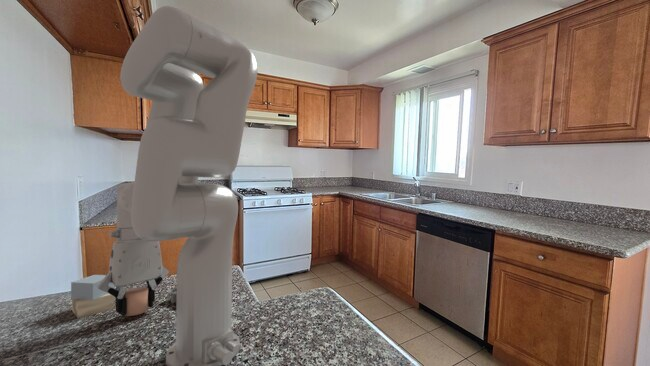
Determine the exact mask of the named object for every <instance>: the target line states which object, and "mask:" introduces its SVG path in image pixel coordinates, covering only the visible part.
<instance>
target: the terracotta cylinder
mask: <svg viewBox="0 0 650 366" xmlns="http://www.w3.org/2000/svg"><path fill="white" fill-rule="evenodd" d="M124 297H125V298H126V315H125V317H133V316H139V315H140V314H144V313H145V312H146V313H147V311H148V310H149V307H148V287H147V286H137V287H136V286H135V287H132V288H127V289H126V290H125V294H124Z"/></svg>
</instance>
